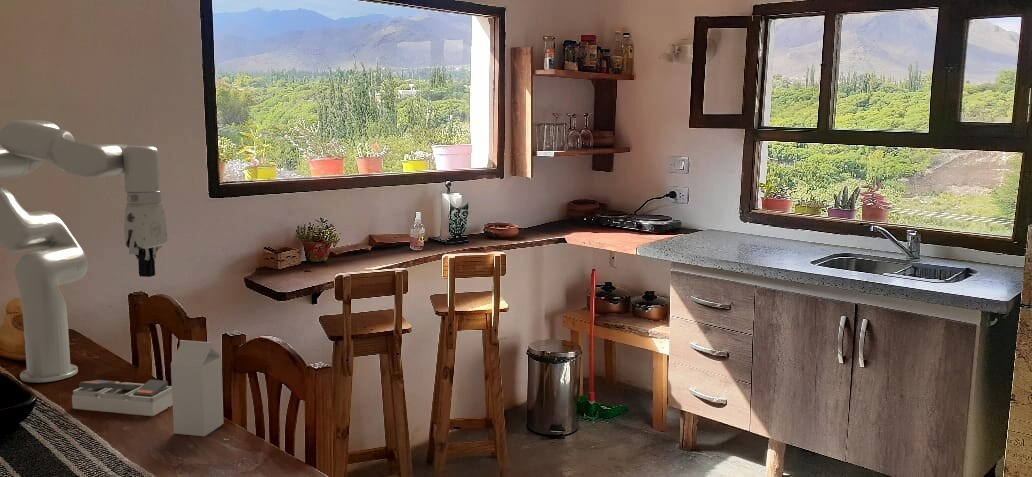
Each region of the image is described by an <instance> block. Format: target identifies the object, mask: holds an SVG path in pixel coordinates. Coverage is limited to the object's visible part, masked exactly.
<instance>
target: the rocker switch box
mask: <svg viewBox="0 0 1032 477" xmlns="http://www.w3.org/2000/svg"><path fill="white" fill-rule="evenodd" d="M115 383H120V384H131V385H141V386H140V387H142V386H143V385H144V384H145V383H137V382H135V383H134V382H128V381H127V382H123V381H116V380H115ZM140 387H138V388H136V389H134V390H128V389H114V388H106V387H104V388H98V389H94V388H83V387H78V388H75V389H74V390H72V395H71V403H72V404H71V405H72V409H74V410H85V411H96V412H103V413H104V412H107V413H116V414H117V413H118V414H125V415H136V416H148V417H154V416H156V415H157V414H159V413H161V412H163V411H165V410H167V409H169V408H171V407H173V402H172V385H170V386H169V385H168V386H166V387H165V388H164V389H163V390H162V391H161V392H159V393H158V394H157V395H155V396H153V397H146V396H135V395H134V394H133V393H134V392H136V391H137V390H138V389H139V388H140ZM168 407H169V408H168Z"/></svg>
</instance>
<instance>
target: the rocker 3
mask: <svg viewBox="0 0 1032 477" xmlns="http://www.w3.org/2000/svg"><path fill="white" fill-rule="evenodd" d="M143 384H144V385H143V386H142V387H140V388H139V389H138V390H137V391H136V392H134V393H133V394H134V395H135V396H146V397H153V396H155V395H157V394H158V393H159V392H161V391H162V390H163V389H164V388H165V387H166V386H169V382H168V380H159V379H149V380H147V381H146V382H145V383H143Z"/></svg>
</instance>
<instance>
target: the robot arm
mask: <svg viewBox="0 0 1032 477" xmlns="http://www.w3.org/2000/svg"><path fill="white" fill-rule="evenodd" d="M44 163H47V164H51V165H54V167H55V168H57V169H59V170H60V171H62V172H65V173H68V174H71V175H77V176H80V177H85V178H89V179H90V178H91V179H97V178H109V177H110V178H111V177H122V176H124V177H123V178H124V193H125V210H124V223H123V224H124V225H123V226H124V228H123V229H124V230H123V231H124V232H123V233H124V244H125V247H127V249H128V254H129V255H134V256H135V257H136V260H137V261H138V262H137V263H138V275H139V277H144V278H145V277H146V278H151V277H154V276H156V267H155V266H156V265H155V264H156V263H155V259H156V258H157V252H158V250H159V251H160V249H162V248H163V246H164V245H166V244H167V242H168V228H167V227H168V226H167V220H166V213H165V208H164V206H163V203H162V196H161V195H162V194H161V177H160V176H161V174H160V173H161V172H160V154H159V150H158V149H157V147H155V146H153V145H131V144H130V145H129V144H124V143H106V144H105V143H104V144H103V143H102V144H101V143H100V144H87V143H82V142H78V141H76V140H75V138H74V135H73V134H72V133H71V132H70V131H68V130H65V129H61V128H60V127H59V126H58V125H57V124H55V123H53V122H52V121H48V120H46V119H45V120H44V119H42V120H41V119H36V120H35V119H32V120H31V119H22V120H21V119H20V120H18V119H17V120H12V121H10V122H7V123H5V124H4V125H3V126H2V127H1V128H0V180H6V179H16V178H17V179H18V178H22V177H25V176H27V175H29V174H31V173H33V172H34V171H35V170H36V169H37V168H39V167H40V166H42V165H43V164H44ZM80 245H81V244H79V242H78V241H77V239H76V238H75V237H74V236H73V234H72V232H71V231H70V229H69V228H68V227H67V225H66V224H65V223H64V221H63V220H62V219H61V218H60V217H59V216H58V215H56V214H55V213H54V212H51V211H47V210H34V211H27V210H25V209H24V207H22V205H21V204H20V203H19V201H18V200H17V198H16V197H15V196H14V195H13V193H12V192H10V190H8V189H7V188H5V187H4V186H2V185H1V184H0V246H1V247H2V248H3V249H5V251H7V252H10V253H15V254H16V253H23V252H27V253H25V254H23V255H22V256H21V257H20V258H19V259H17V261H16V262H15V265H14V269H13V270H14V277H15V282H16V284H17V287H18V291H19V296H20V301H21V312H22V321H23V334H24V335H23V336H24V337H23V338H24V348H25V363H26V369H25V370H22V371H21V372H20V373H19V379H20V380H21V381H22V382H26V383H32V384H33V383H39V384H40V383H50V382H57V381H60V380H65V379H69V378H71V377H73V376H75V375H77V373H78V372H79V369H78V368H79V367H78V366H77V365H75V364H72V363H71V355H70V353H71V352H70V351H71V350H70V339H69V338H70V337H69V321H68V320H69V319H68V307H67V302H66V299H65V297H64V295H63V293H62V291H61V290H60V289H59V286H62V285H66V284H69V283H74V282H76V281H79V280H81V279H82V278H84V277H85V275H86V274H87V272H88V269H89V262H88V258H87V255H86V253H85V251H84V249H83V248H82V247H81V246H80Z"/></svg>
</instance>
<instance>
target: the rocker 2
mask: <svg viewBox="0 0 1032 477" xmlns="http://www.w3.org/2000/svg"><path fill="white" fill-rule="evenodd" d="M140 386H141V385H131V384H120V383H107V385H106V388H114V389H128V390H134V389H136V388H138V387H140Z"/></svg>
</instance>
